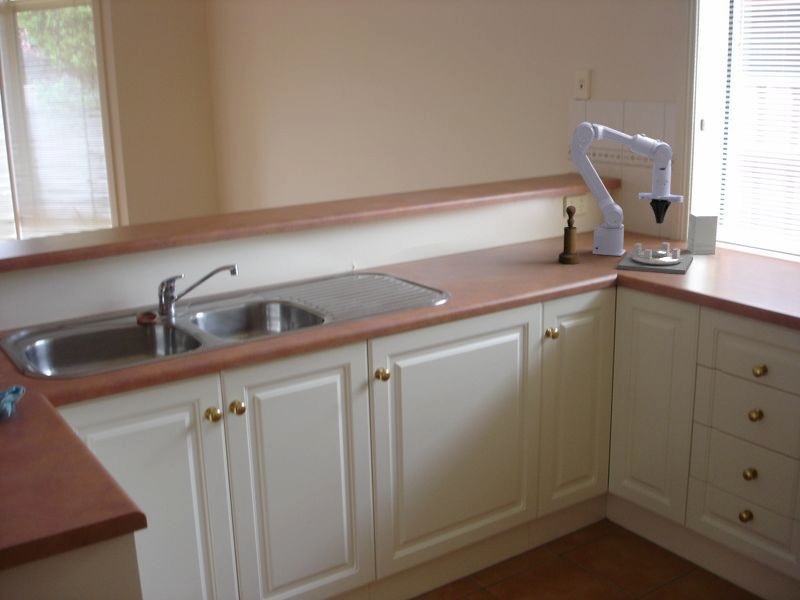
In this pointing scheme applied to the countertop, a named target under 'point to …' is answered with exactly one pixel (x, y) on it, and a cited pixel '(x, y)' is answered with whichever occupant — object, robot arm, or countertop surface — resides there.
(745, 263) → the countertop surface
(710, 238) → the supplement box
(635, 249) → the domed lug disc
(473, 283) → the countertop surface
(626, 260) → the cap plate
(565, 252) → the brown chess piece
